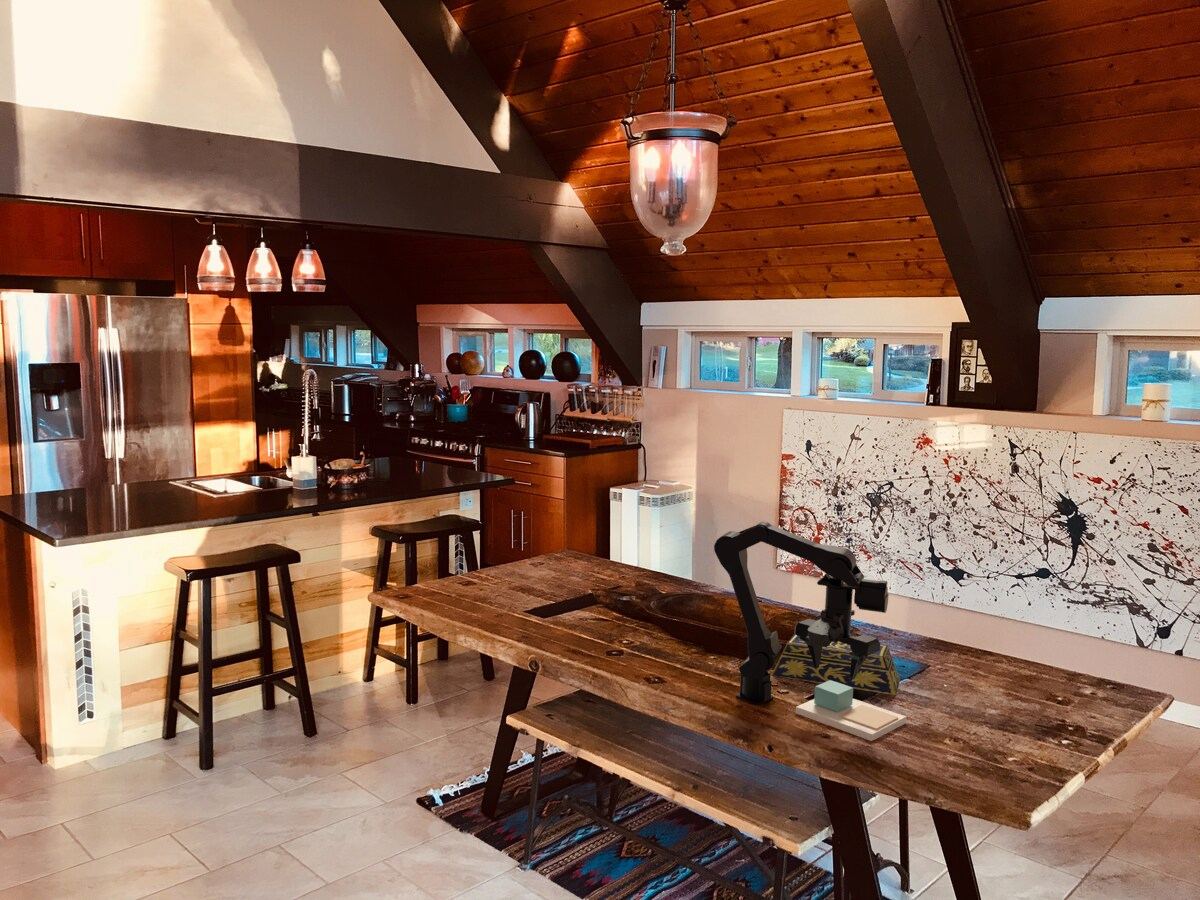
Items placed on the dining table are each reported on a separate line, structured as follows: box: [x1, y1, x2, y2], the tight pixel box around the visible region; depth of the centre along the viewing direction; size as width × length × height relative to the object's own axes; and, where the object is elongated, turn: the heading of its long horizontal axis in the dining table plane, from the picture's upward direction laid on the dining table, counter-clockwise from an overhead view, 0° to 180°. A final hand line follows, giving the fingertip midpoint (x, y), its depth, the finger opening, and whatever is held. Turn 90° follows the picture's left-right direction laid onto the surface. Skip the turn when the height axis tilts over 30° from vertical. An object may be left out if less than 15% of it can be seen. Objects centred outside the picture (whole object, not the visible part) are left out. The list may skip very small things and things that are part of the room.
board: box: [795, 698, 907, 742], centre depth 210 cm, size 19×14×5 cm
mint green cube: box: [813, 680, 854, 712], centre depth 213 cm, size 6×6×4 cm
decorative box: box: [771, 632, 901, 696], centre depth 234 cm, size 11×30×9 cm, turn 67°
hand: (834, 673), depth 213 cm, fingers open, 9 cm apart
